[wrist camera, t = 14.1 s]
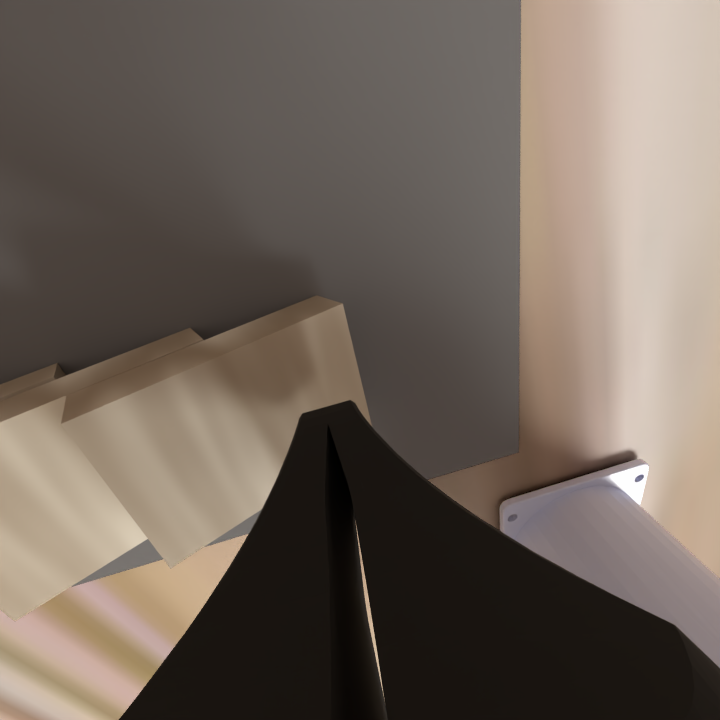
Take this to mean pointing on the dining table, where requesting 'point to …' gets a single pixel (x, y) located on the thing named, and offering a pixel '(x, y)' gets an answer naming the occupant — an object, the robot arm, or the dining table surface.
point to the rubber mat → (272, 195)
